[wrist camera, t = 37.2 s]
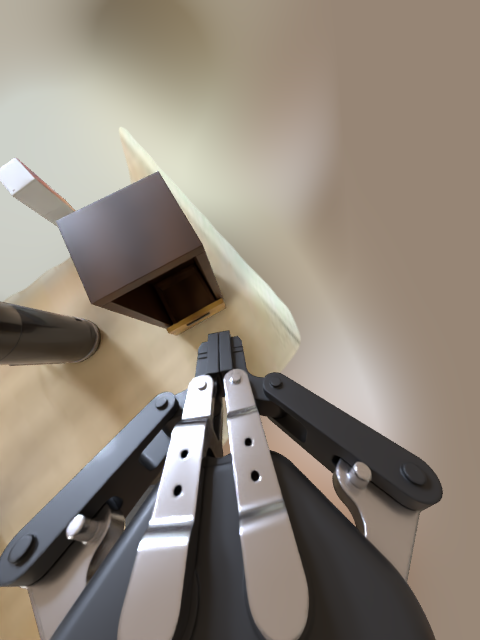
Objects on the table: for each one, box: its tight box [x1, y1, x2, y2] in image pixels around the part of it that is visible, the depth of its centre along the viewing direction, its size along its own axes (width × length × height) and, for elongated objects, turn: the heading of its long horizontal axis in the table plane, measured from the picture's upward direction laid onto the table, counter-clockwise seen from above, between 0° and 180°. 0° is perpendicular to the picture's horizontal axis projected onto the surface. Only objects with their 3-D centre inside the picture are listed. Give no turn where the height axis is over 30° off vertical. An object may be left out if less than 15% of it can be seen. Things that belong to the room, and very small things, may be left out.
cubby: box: [56, 172, 225, 329], centre depth 30 cm, size 13×11×22 cm
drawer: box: [154, 264, 226, 335], centre depth 37 cm, size 12×11×4 cm
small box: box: [0, 158, 75, 227], centre depth 41 cm, size 8×6×10 cm
